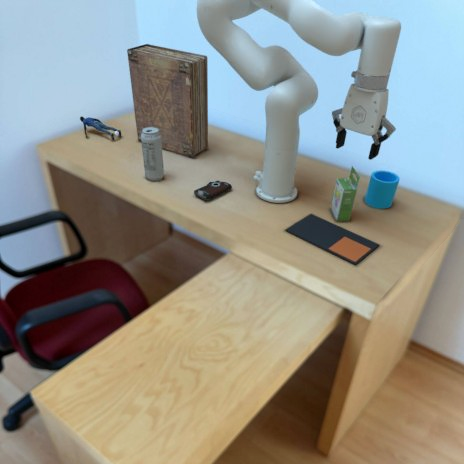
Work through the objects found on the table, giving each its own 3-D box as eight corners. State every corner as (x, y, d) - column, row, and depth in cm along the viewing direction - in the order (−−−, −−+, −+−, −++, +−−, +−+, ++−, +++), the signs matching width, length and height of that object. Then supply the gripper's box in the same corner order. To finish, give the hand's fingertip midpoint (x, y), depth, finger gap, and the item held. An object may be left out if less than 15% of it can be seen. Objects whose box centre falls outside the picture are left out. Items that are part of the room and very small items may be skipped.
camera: (191, 187, 131) (217, 176, 137) (192, 196, 133) (217, 185, 139) (206, 193, 128) (232, 181, 134) (207, 202, 129) (232, 190, 136)
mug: (393, 210, 130) (401, 184, 125) (365, 206, 131) (371, 181, 125) (389, 191, 139) (397, 166, 133) (363, 188, 140) (369, 163, 134)
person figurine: (128, 139, 166) (91, 122, 171) (127, 127, 163) (90, 110, 168) (108, 148, 159) (70, 130, 164) (108, 136, 156) (69, 118, 160)
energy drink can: (168, 177, 141) (164, 130, 131) (153, 183, 137) (148, 135, 127) (156, 171, 144) (151, 124, 134) (141, 177, 140) (135, 129, 130)
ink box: (330, 209, 129) (339, 165, 120) (343, 209, 130) (353, 165, 120) (336, 221, 124) (345, 177, 115) (349, 221, 125) (360, 177, 115)
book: (208, 150, 158) (208, 56, 137) (193, 158, 152) (190, 62, 131) (154, 133, 167) (145, 43, 147) (137, 141, 161) (126, 48, 141)
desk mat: (285, 231, 120) (285, 229, 119) (310, 215, 126) (311, 213, 126) (355, 265, 109) (355, 263, 109) (378, 246, 116) (379, 244, 115)
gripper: (331, 76, 105) (319, 146, 116) (398, 92, 96) (378, 167, 108) (347, 70, 109) (335, 139, 121) (413, 85, 101) (392, 158, 112)
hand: (355, 152), depth 114 cm, fingers open, 9 cm apart
